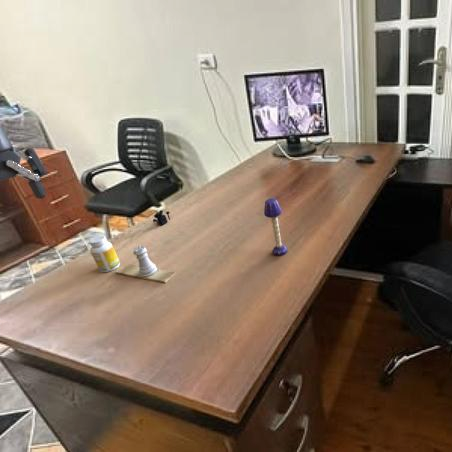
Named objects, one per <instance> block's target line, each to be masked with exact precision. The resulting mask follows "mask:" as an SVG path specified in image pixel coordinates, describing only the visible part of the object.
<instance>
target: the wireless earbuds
mask: <svg viewBox="0 0 452 452" xmlns="http://www.w3.org/2000/svg"><path fill="white" fill-rule="evenodd" d="M169 214H170V211H168V210H167V211H165V214H164V210H162V209H160V210H159V212H156V213H155V214H154V215H153V217H154V218H153V219H152V223H156V225H157V227H160V226H164V225H166V224H167V223H168V220H169V221H170V220H171V217H170V215H169ZM166 215H167V216H166ZM167 218H168V219H167Z"/></svg>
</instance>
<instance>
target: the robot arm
mask: <svg viewBox="0 0 452 452" xmlns="http://www.w3.org/2000/svg"><path fill="white" fill-rule="evenodd" d="M22 160H24V161H26V162H27V164H28V166H29V168H30V169H31V170H29V169H28V168H26V167H23V166H22V165H20V164H21V161H22ZM47 174H48V171H47V169H46V167H45V166H44V163H42V161H41V159H40V157H39V156H38V153H37V152H36V151H35V149H34V148H30V147H22V148H21V149H20V150H19V151H16V150H15V149H14V146H13V144H12V142H11V140H10V138H9V136H8V134H7V132H6V130H5V128H4V127H3V125H2V123H1V122H0V183H1V182H4V181H6V180H7V179H13V178H15V177H17V176H18V177H21V178H23V179H24V180H26V181H28V182H27V184H28V185H29V187H30V189H31V191H32V192H33V195H34V197H35V198H36V199H41V200H42V199H45V198H46V194H47V191H46V189H45V187H44V185H43V183H42V181H41V179H42V177H44V176H47ZM2 216H3V213H2V211H1V210H0V217H2Z"/></svg>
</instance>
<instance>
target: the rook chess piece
mask: <svg viewBox="0 0 452 452" xmlns="http://www.w3.org/2000/svg"><path fill="white" fill-rule="evenodd" d="M147 251H148V250H147V248H146V247H145V246H143V245H138V246H137V247H134V249H133V252H132V253H133V255H134V256H135V257H136V259H137V261H138V264H139V265H138V266H139V272H140V275H141V276H143V277H148V276H151V275H153V274H154V273H156V271H157V269H158V267H157V265H156V263H154V262H152V261H151V260H150V258H149V255H148V253H147Z"/></svg>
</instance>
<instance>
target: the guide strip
mask: <svg viewBox="0 0 452 452" xmlns="http://www.w3.org/2000/svg"><path fill="white" fill-rule="evenodd" d="M139 266H140V265H137V264H130V263H126V264H124V265H123V266H122V267H120V268H118V269H117V270H116V271H115V274H117V275H122V276H126V277H133V278H138V279H142V280H147V281H153V282H159V283H162V284H163V283H164V284H166V283H168V282H169V281H170V280H171V279H172V278H174V277H175V276H176V275H177V272H175V271H171V270H170V271H169V270H164V269H158V268H157V271H156V273H154V274H153V275H151V276H148V277H143V276H141V275H140V272H139Z"/></svg>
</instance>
